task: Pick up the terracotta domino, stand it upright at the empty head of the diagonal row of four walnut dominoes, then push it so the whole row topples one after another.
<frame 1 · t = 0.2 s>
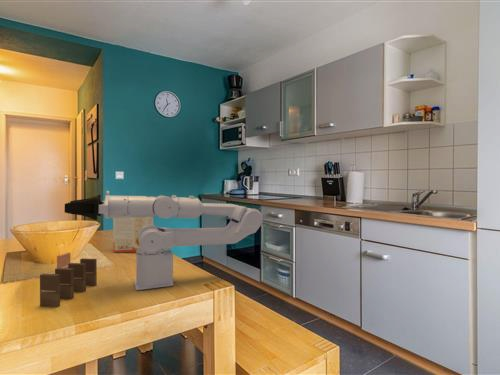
hand: (67, 206, 74), 22 cm above the table, tool horizontal, fingers open, 7 cm apart
domino 2: (88, 285, 81), on the table
domino 5: (50, 305, 68), on the table
domino 4: (64, 298, 72), on the table
cracker box: (133, 251, 120), on the table
domino 1: (63, 278, 86), on the table
domino 3: (77, 291, 77), on the table
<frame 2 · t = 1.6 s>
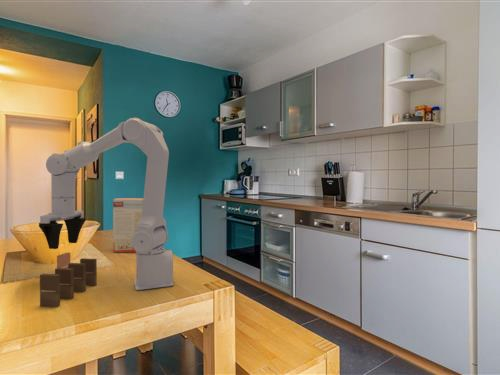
hand: (63, 245, 86), 9 cm above the table, tool pointing down, fingers open, 7 cm apart
nothing on the table moved.
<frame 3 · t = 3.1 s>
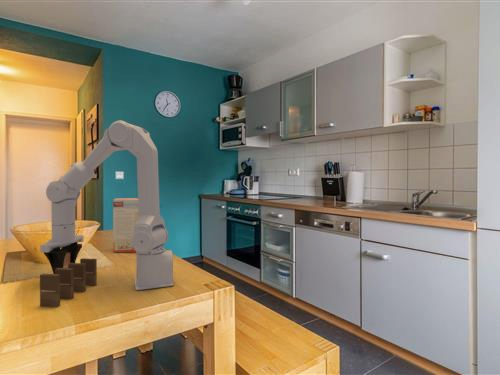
hand: (63, 272, 86), 2 cm above the table, tool pointing down, fingers closed on domino 1, 4 cm apart
domino 1: (63, 278, 86), on the table, touching gripper
everything else where it was.
when the fingers open (3 cm above the table, at t = 6.5 s): domino 1 moves 1 cm and tips over, resting on domino 2.
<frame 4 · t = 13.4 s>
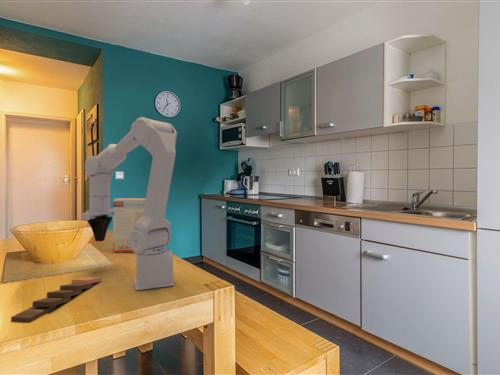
hand: (99, 240, 93), 9 cm above the table, tool pointing down, fingers closed
domino 2: (85, 285, 80), on the table, tilted 77°, touching domino 1, domino 3
domino 5: (47, 305, 67), on the table, tilted 89°, touching domino 4
domino 4: (62, 297, 71), point 1 cm above the table, tilted 79°, touching domino 3, domino 5
domino 1: (94, 279, 84), on the table, tilted 77°, touching domino 2
domino 3: (73, 291, 75), point 1 cm above the table, tilted 76°, touching domino 2, domino 4
everything else where it was.
at the end: domino 5 tilted 89°; domino 3 tilted 76°; domino 1 inside the target area (0.9 cm from its centre), on the table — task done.
